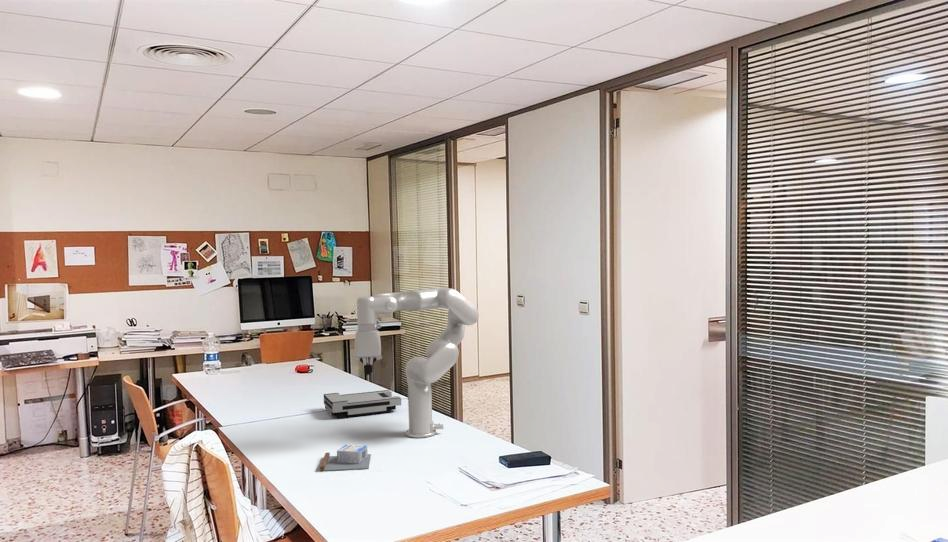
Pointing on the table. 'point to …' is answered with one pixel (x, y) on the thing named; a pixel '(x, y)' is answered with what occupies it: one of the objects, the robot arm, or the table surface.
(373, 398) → the game console
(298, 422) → the table surface
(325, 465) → the walnut stop strip
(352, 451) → the medicine box
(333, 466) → the slate mat
